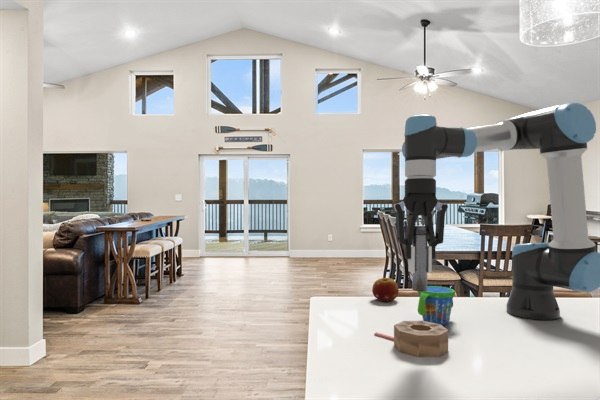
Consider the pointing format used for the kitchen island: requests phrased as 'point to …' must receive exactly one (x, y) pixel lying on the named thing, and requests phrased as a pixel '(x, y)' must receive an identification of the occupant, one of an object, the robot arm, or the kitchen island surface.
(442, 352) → the bead
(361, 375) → the kitchen island surface
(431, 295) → the snack cup
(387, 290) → the fruit
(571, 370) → the kitchen island surface
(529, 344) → the kitchen island surface
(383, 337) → the pink stick
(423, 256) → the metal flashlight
